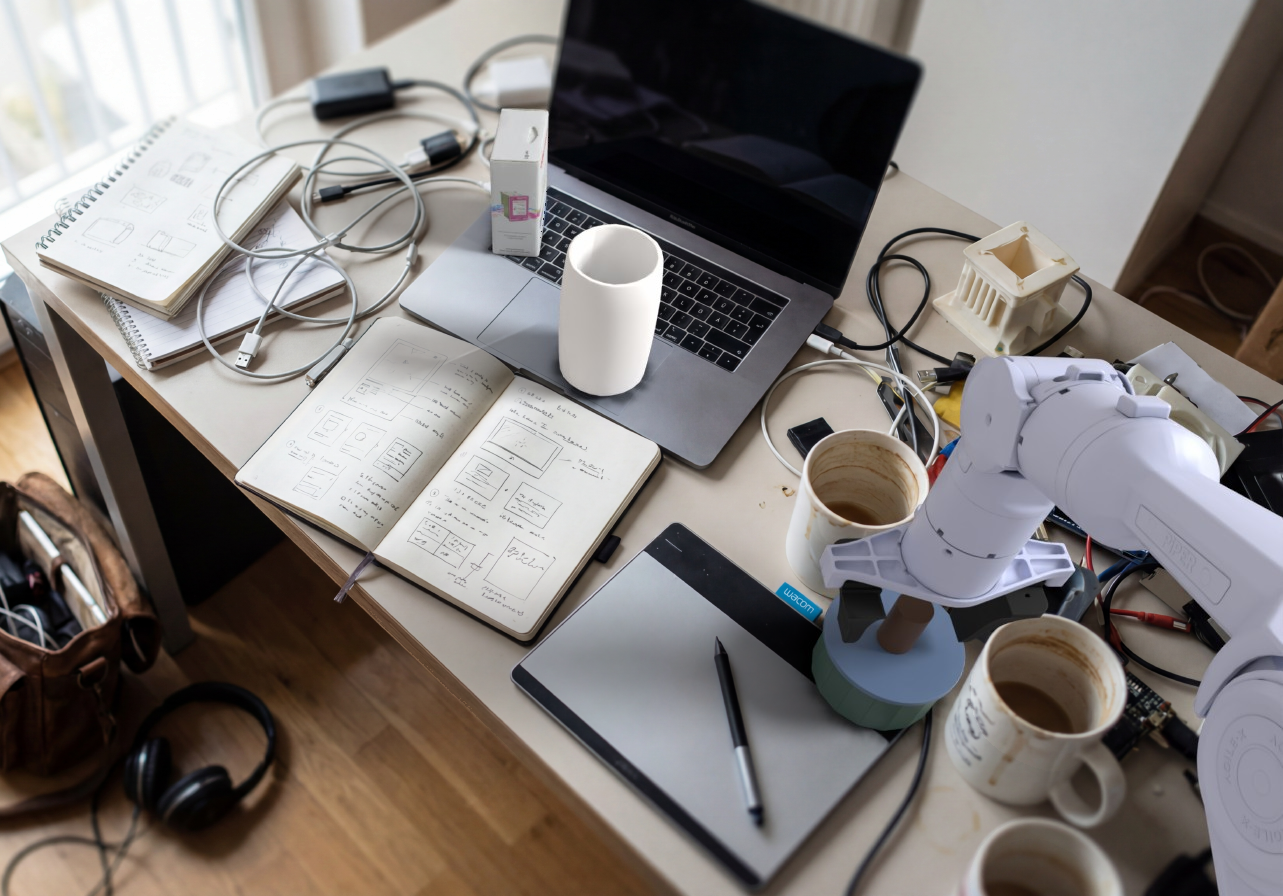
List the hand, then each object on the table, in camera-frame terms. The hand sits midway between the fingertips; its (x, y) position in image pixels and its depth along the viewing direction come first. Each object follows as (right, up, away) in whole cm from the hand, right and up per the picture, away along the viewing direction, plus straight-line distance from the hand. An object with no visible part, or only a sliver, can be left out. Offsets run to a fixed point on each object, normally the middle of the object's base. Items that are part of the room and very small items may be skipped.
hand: (902, 629), depth 69 cm
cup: (-17, +19, +25) cm, 36 cm away
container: (0, -5, +6) cm, 7 cm away
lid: (0, -1, +2) cm, 2 cm away
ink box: (-25, +35, +37) cm, 57 cm away
